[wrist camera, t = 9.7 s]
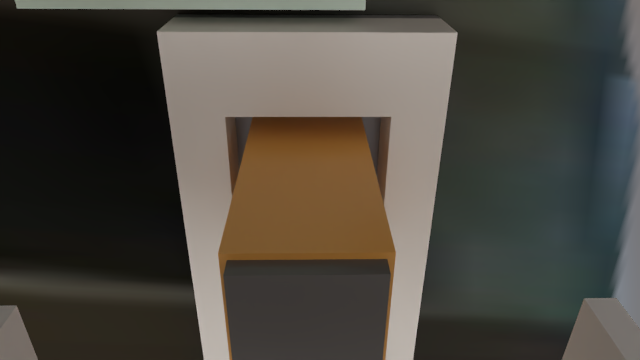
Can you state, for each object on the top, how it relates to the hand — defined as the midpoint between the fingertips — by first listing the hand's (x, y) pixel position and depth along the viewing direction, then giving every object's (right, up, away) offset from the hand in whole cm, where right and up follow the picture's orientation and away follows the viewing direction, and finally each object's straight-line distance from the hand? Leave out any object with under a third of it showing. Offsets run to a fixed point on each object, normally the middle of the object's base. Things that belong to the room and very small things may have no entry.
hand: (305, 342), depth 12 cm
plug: (0, +5, +10) cm, 11 cm away
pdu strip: (0, +1, +13) cm, 13 cm away
